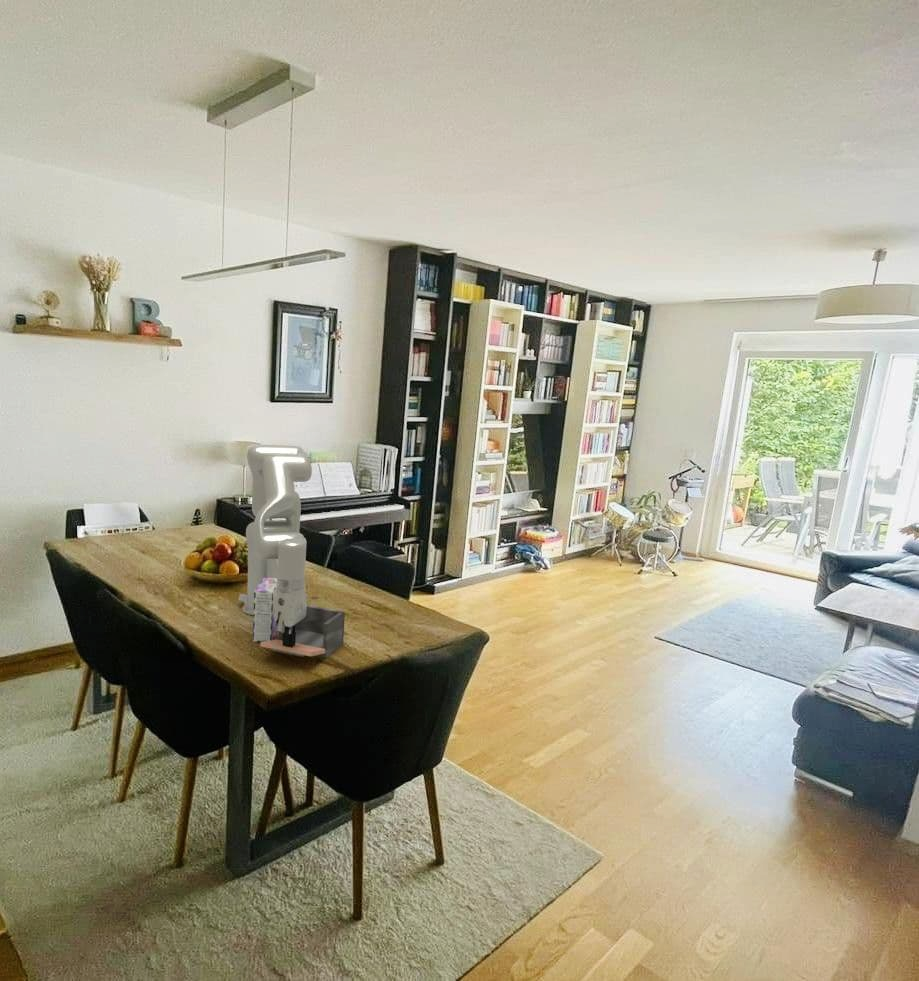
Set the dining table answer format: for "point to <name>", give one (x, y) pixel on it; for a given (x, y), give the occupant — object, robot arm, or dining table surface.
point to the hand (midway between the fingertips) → (288, 645)
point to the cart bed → (320, 629)
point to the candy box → (265, 610)
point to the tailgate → (293, 648)
